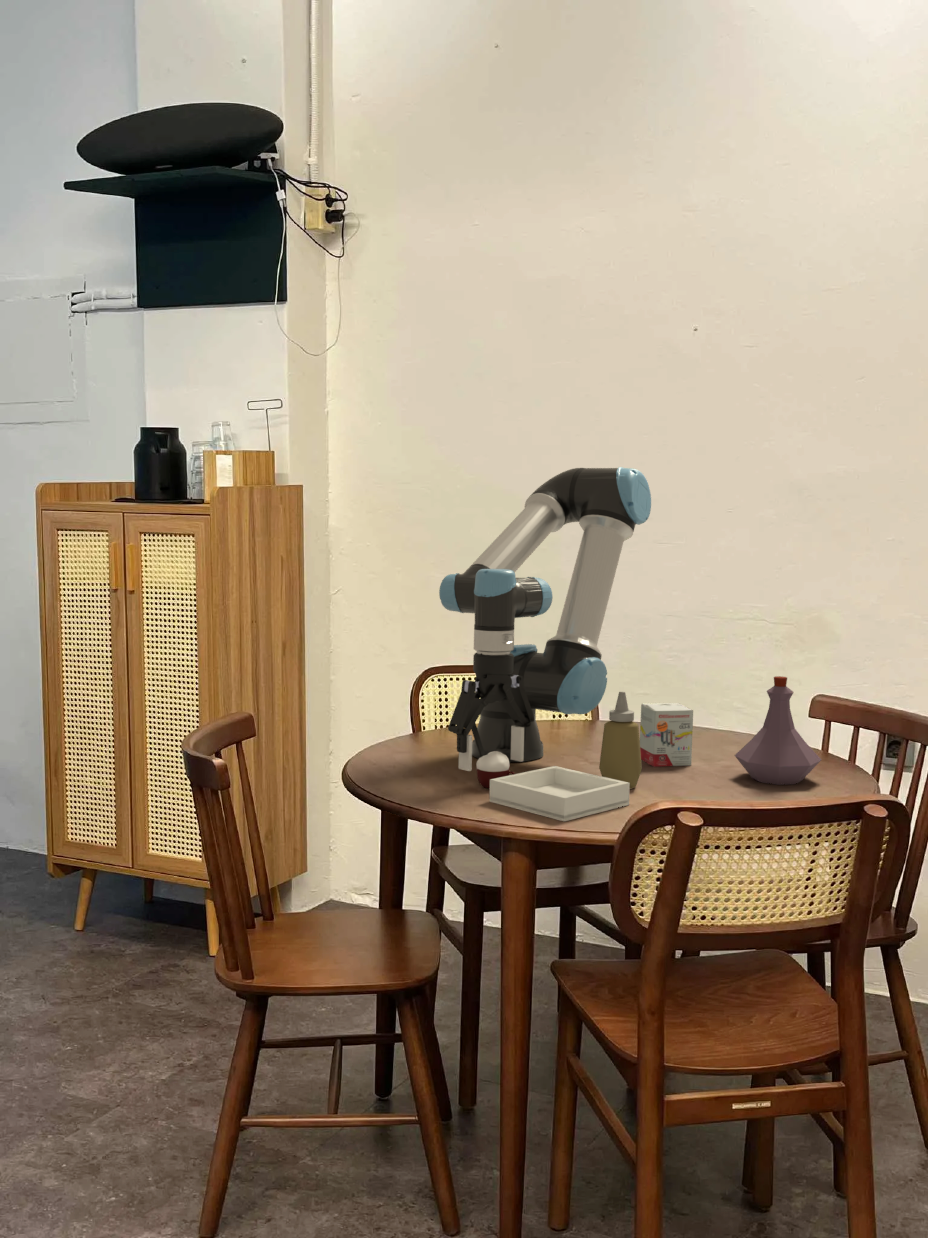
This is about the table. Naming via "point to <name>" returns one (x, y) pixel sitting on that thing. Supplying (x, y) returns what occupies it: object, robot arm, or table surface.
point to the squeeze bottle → (621, 745)
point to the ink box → (666, 734)
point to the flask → (778, 744)
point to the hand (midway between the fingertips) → (491, 765)
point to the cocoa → (490, 763)
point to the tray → (559, 793)
